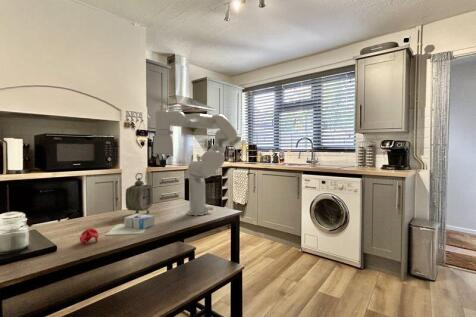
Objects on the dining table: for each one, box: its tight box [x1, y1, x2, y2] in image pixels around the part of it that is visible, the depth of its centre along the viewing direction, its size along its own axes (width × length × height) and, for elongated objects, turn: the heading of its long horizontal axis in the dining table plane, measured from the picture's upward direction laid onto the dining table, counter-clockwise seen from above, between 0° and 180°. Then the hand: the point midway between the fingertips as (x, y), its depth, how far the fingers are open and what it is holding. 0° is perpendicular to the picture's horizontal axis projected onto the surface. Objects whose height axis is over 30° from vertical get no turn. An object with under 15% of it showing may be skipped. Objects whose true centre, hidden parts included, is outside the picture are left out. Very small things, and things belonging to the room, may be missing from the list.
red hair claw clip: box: [79, 228, 99, 246], centre depth 107 cm, size 8×6×6 cm
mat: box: [105, 223, 147, 237], centre depth 124 cm, size 16×16×1 cm
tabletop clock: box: [125, 172, 153, 214], centre depth 150 cm, size 14×9×25 cm, turn 170°
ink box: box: [123, 213, 156, 229], centre depth 128 cm, size 8×5×12 cm
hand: (163, 167), depth 139 cm, fingers closed
